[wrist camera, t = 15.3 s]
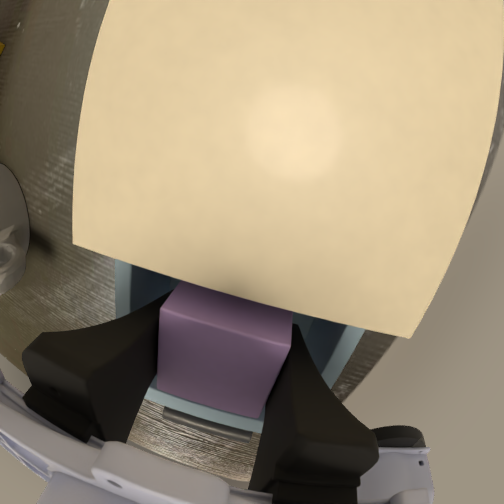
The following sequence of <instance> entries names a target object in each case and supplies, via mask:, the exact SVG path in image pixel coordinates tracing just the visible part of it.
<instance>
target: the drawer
mask: <svg viewBox="0 0 504 504" xmlns="http://www.w3.org/2000/svg"><path fill="white" fill-rule="evenodd" d="M180 281H181V280H180V279H176V278H173V277H170V276H167V275H164V274H161V273H157V272H154V271H151V270H148V269H145V268H142V267H139V266H136V265H133V264H130V263H127V262H124V261H121V260H118V259H115V306H116V319H117V318H120V317H122V316H125V315H127V314H129V313H131V312H133V311H135V310H137V309H139V308H141V307H143V306H145V305H147V304H149V303H150V302H152V301H154V300H156V299H157V298H159V297H161V296H162V295H164V294H166V293H168V292H169V291H171V290H173V289H175V288H176V286H177V285H178V284H179V282H180ZM292 323H294V324H298V326H299V328H300V330H301V333H302V336H303V339H304V341H305V344H306V346H307V348H308V351H309V353H310V355H311V357H312V359H313V361H314V363H315V365H316V367H317V369H318V371H319V373H320V374H321V376H322V378H323V379H324V381H325V382H326V384H327V385H328V387H329V388H330V389H331V388H332V386H333V384H334V383H335V381H336V380H337V378H338V376H339V375H340V373H341V371H342V370H343V368H344V366H345V365H346V363H347V361H348V360H349V358H350V356H351V354H352V353H353V351H354V349H355V347H356V346H357V344H358V342H359V340H360V338H361V336H362V335H363V333H364V331H365V329H363V328H358V327H354V326H350V325H345V324H341V323H337V322H333V321H329V320H325V319H321V318H316V317H312V316H308V315H305V314H301V313H297V312H293V318H292ZM144 398H145V399H148V400H151V401H153V402H156V403H159V404H161V405H164V406H165V407H164V410H163V415H162V417H163V418H164V419H166V420H169V421H172V422H175V423H178V424H181V425H184V426H187V427H190V428H193V429H196V430H199V431H203V432H206V433H210V434H213V435H217V436H220V437H224V438H228V439H232V440H236V441H240V442H244V443H249V442H250V440H251V437H252V433H253V432H257V433H262V428H263V423H264V416H265V405H266V403H265V405H264V408H263V410H262V412H261V414H260V416H259V418H252V417H248V416H244V415H240V414H236V413H232V412H228V411H224V410H221V409H217V408H214V407H210V406H207V405H204V404H200V403H197V402H194V401H191V400H188V399H185V398H182V397H179V396H176V395H173V394H170V393H167V392H165V391H162V390H159V389H157V374H156V376H155V377H154V379H153V381H152V383H151V384H150V386H149V388H148V390H147V393H146V395H145V397H144Z"/></svg>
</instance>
